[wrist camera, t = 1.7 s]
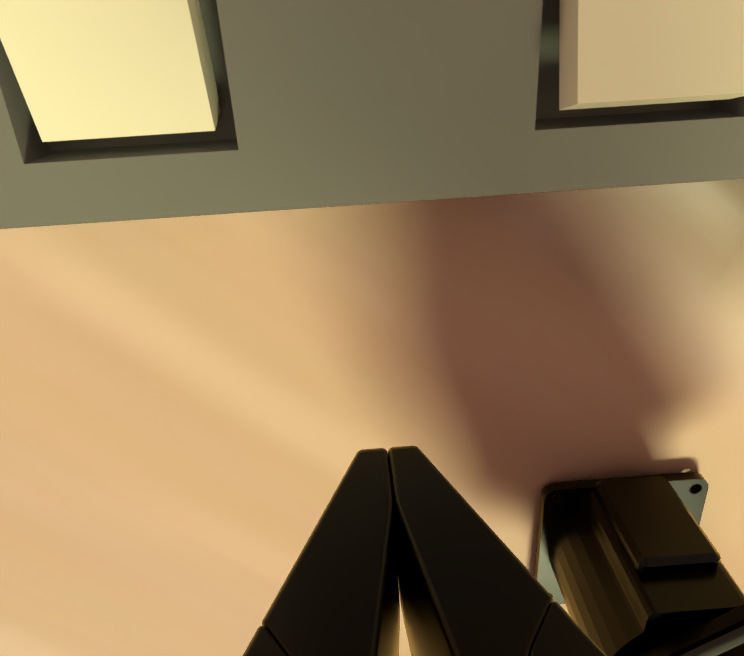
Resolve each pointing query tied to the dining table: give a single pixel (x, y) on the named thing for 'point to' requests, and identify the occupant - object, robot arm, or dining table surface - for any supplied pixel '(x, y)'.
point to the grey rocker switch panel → (365, 120)
